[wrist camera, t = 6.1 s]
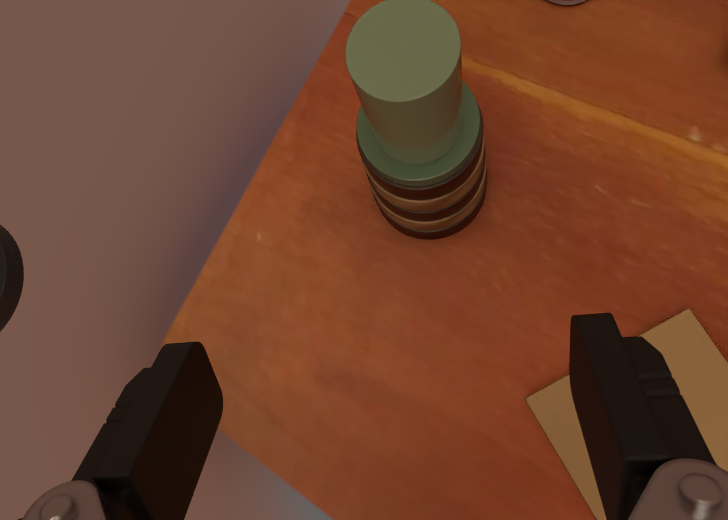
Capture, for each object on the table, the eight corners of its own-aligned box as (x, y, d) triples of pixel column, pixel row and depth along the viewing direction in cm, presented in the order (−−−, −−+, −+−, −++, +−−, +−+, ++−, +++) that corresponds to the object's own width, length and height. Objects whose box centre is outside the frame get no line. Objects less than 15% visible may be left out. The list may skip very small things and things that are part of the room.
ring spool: (395, 208, 33) (370, 150, 25) (339, 113, 35) (298, 29, 27) (503, 146, 33) (513, 67, 25) (440, 53, 35) (431, -50, 26)
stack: (409, 259, 43) (391, 223, 33) (356, 169, 45) (325, 110, 35) (507, 203, 42) (518, 149, 33) (450, 115, 44) (444, 40, 35)
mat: (630, 577, 36) (632, 579, 36) (524, 398, 40) (524, 398, 39) (809, 482, 36) (813, 483, 35) (687, 308, 39) (689, 308, 39)
